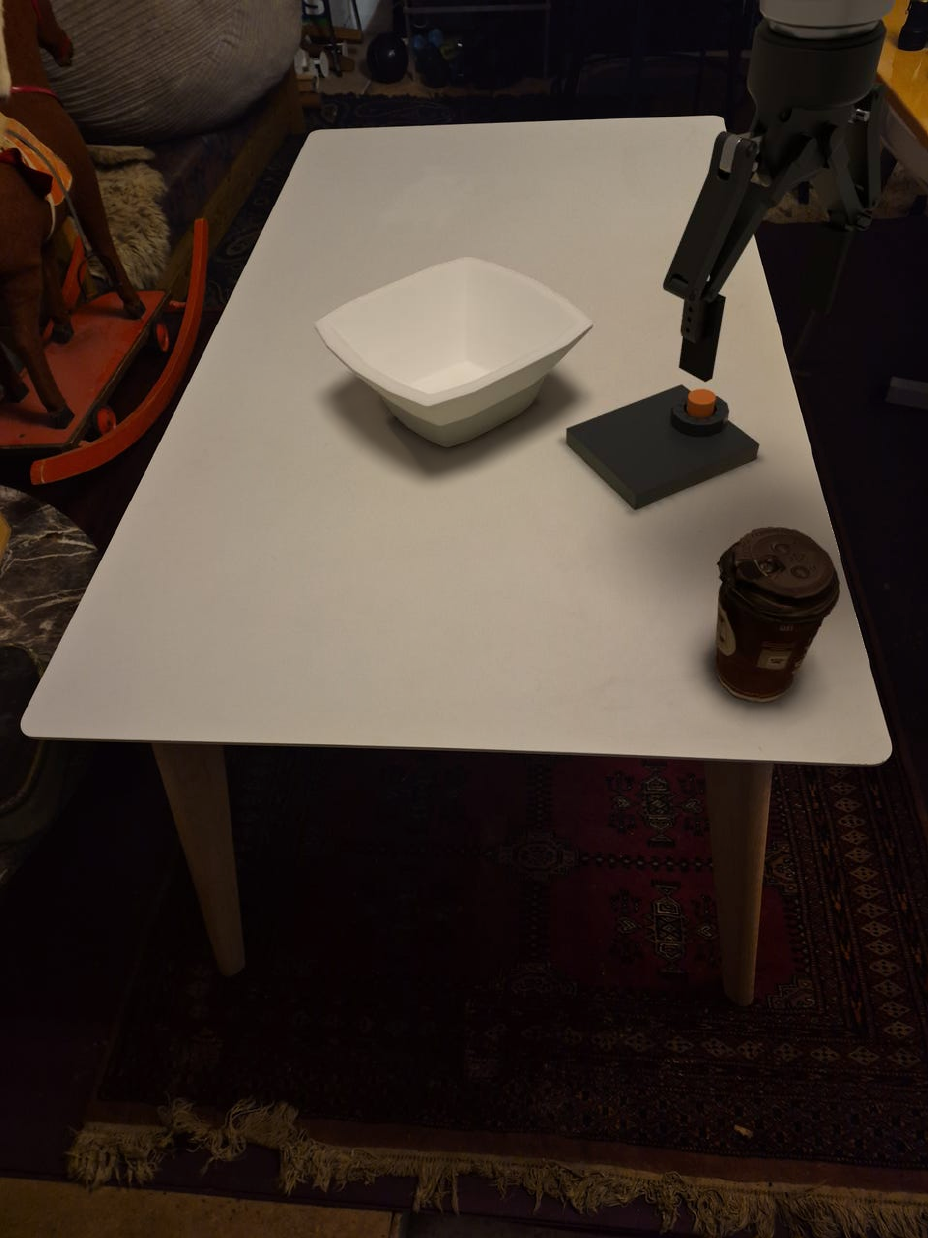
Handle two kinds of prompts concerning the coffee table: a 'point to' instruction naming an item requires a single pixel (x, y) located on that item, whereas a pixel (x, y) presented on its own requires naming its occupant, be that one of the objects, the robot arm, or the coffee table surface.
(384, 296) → the bowl
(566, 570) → the coffee table surface
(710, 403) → the button
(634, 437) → the scale
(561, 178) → the coffee table surface
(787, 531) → the coffee cup
